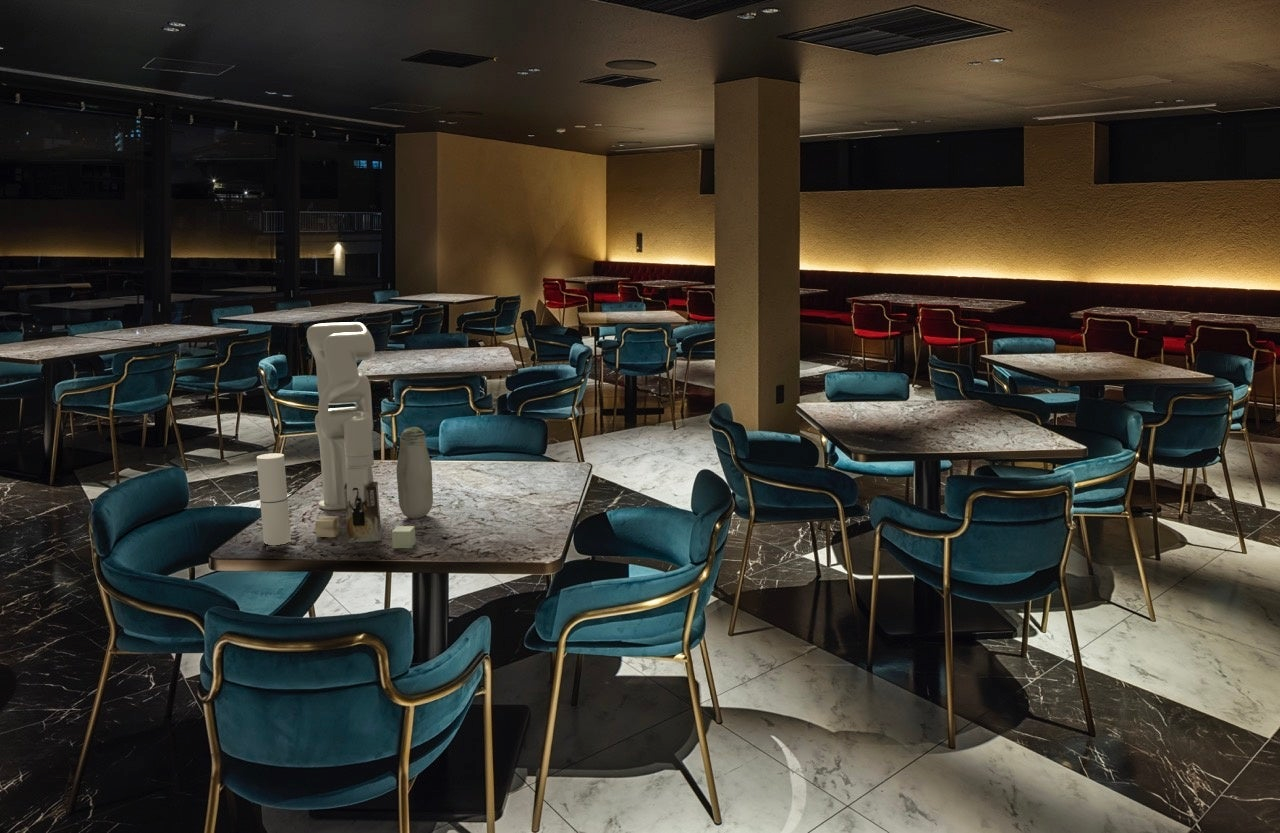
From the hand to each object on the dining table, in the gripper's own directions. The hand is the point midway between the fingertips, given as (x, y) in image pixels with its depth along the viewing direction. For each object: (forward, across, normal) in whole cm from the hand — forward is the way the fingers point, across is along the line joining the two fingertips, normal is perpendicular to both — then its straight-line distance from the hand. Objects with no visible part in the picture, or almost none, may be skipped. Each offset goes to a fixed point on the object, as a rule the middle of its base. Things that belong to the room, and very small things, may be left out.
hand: (363, 521), depth 266 cm
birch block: (+6, -4, -12) cm, 14 cm away
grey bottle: (+6, -22, +9) cm, 24 cm away
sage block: (+6, +6, +13) cm, 15 cm away
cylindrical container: (+6, +3, -24) cm, 25 cm away
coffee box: (+6, 0, 0) cm, 6 cm away
